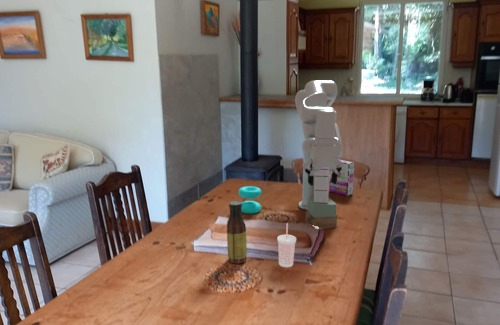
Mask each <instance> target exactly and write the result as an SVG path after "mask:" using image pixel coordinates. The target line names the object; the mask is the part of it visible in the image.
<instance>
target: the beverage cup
mask: <svg viewBox="0 0 500 325" xmlns="http://www.w3.org/2000/svg"><path fill="white" fill-rule="evenodd" d="M285 227H286V228H285V229H286V230H285V231H286V232H285V234H280V235H278V236H277V237H276V238H277V246H278V264H279V266H280V267H283V268H290V267H292V266H293V265H294V259H295V248H296V242H297V236H294V235H292V234H289V233H288V232H289V231H288V230H289V223H288V222H287V223H286V226H285Z"/></svg>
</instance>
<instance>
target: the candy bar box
mask: <svg viewBox="0 0 500 325" xmlns="http://www.w3.org/2000/svg"><path fill="white" fill-rule="evenodd" d="M337 160H339V161H341V162H343V163H344V166H343V167H342V170H341V171H340V172H339V174H337V182H336V184H333V183H332V182H331V176H332V173H333V171H332V170H329V192H330V193H335V194H338V195H342V196H346V197H349V196H352V195H354V181H355V180H354V177H355V165H356V164H355V163H356V162H354V161H348V160H344V159H340V158H339V159H337ZM338 166H339V164H338V163H337V167H338ZM337 167H336V168H337Z"/></svg>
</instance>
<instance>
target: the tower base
mask: <svg viewBox="0 0 500 325" xmlns="http://www.w3.org/2000/svg"><path fill="white" fill-rule="evenodd" d="M304 220H305V223H306V224H308V225H309V224H311V225H314V226H318V227H319V228H321V229H320V230H325V229H330V228H335V227H337V225H338V224H337V223H338V215H337V214H336V216H334V217H313V216H312V215H311V214H310V212H309V211H308V210H305V219H304ZM311 225H310V226H311Z"/></svg>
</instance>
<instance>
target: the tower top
mask: <svg viewBox="0 0 500 325" xmlns="http://www.w3.org/2000/svg"><path fill="white" fill-rule="evenodd" d="M306 211H309V212H310V214H311V215H312V216H313V217H334V216H336V215H337V203H336V202H335V201H334V200H333V199H331V197H329V196H328V203H317V202H314V198H308V204H307V210H306Z"/></svg>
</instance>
